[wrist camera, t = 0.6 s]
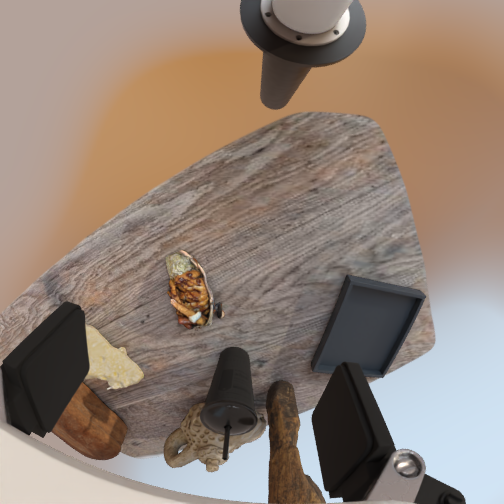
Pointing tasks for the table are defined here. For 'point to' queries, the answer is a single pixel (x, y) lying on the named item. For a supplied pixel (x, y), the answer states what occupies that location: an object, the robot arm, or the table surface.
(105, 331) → the table surface
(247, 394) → the drinking cup
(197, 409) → the teapot
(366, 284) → the serving tray
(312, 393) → the table surface
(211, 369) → the table surface
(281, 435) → the sculpture
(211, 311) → the taco
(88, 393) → the bread
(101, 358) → the cheese
